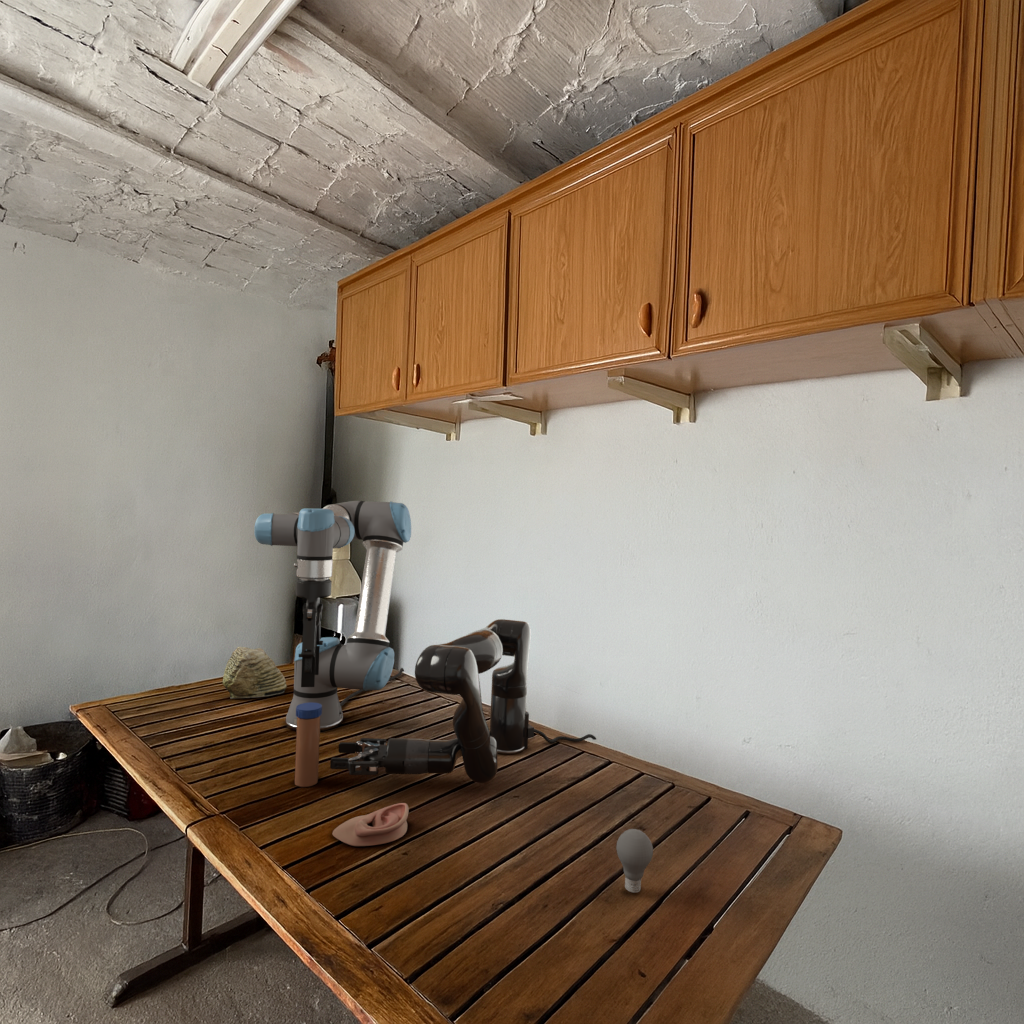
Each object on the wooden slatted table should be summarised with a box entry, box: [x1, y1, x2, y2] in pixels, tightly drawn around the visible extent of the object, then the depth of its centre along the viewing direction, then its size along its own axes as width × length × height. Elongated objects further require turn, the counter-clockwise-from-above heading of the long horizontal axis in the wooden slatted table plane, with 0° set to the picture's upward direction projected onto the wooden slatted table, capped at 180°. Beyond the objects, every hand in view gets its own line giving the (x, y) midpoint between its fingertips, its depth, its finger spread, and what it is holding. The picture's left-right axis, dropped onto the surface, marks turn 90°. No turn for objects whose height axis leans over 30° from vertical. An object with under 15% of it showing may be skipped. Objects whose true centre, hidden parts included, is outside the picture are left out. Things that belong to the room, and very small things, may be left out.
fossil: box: [222, 646, 288, 699], centre depth 198 cm, size 9×18×15 cm, turn 132°
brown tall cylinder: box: [294, 716, 321, 788], centre depth 140 cm, size 5×5×16 cm
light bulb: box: [615, 828, 654, 894], centre depth 106 cm, size 6×6×10 cm
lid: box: [296, 703, 322, 719], centre depth 140 cm, size 6×6×2 cm
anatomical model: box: [332, 802, 410, 847], centre depth 121 cm, size 13×4×12 cm
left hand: (310, 680), depth 140 cm, fingers open, 9 cm apart
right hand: (334, 755), depth 140 cm, fingers open, 8 cm apart
